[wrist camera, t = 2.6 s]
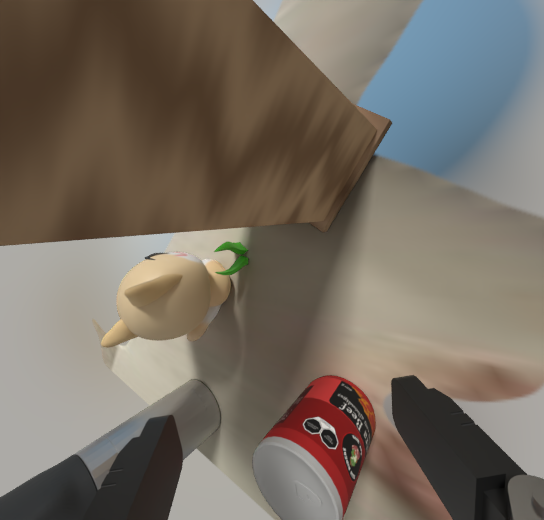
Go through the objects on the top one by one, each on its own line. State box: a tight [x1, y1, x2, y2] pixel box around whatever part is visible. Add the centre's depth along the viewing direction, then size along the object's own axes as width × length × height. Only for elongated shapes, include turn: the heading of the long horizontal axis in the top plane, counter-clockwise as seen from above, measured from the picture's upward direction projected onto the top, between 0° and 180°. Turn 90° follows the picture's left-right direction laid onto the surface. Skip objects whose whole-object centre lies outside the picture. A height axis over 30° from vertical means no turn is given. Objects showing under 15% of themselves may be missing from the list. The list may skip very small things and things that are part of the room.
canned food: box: [252, 375, 375, 520], centre depth 25 cm, size 8×8×11 cm
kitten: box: [101, 242, 248, 347], centre depth 31 cm, size 15×10×15 cm
